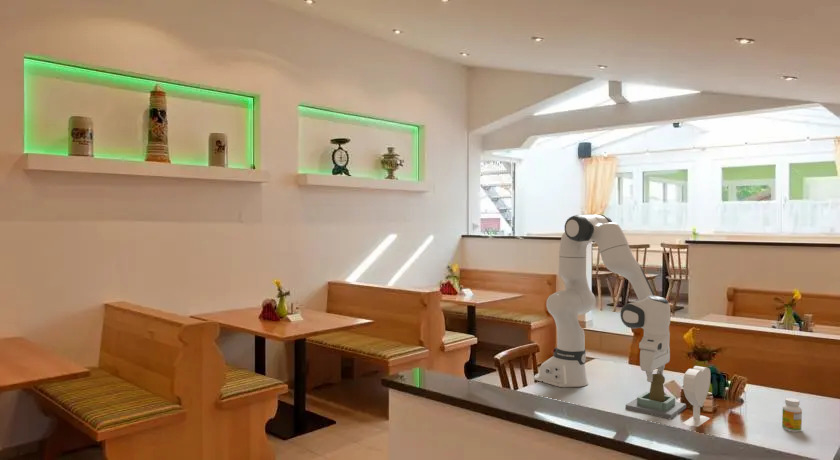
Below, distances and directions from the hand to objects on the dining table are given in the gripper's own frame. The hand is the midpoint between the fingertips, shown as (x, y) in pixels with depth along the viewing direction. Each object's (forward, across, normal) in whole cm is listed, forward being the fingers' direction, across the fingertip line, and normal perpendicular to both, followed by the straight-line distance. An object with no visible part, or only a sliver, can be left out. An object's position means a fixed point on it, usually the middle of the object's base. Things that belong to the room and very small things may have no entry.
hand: (655, 378), depth 217 cm
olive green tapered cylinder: (+9, 0, +1) cm, 9 cm away
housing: (+11, 0, +1) cm, 11 cm away
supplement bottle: (+10, -9, +42) cm, 44 cm away
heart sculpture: (+11, +4, +16) cm, 19 cm away
